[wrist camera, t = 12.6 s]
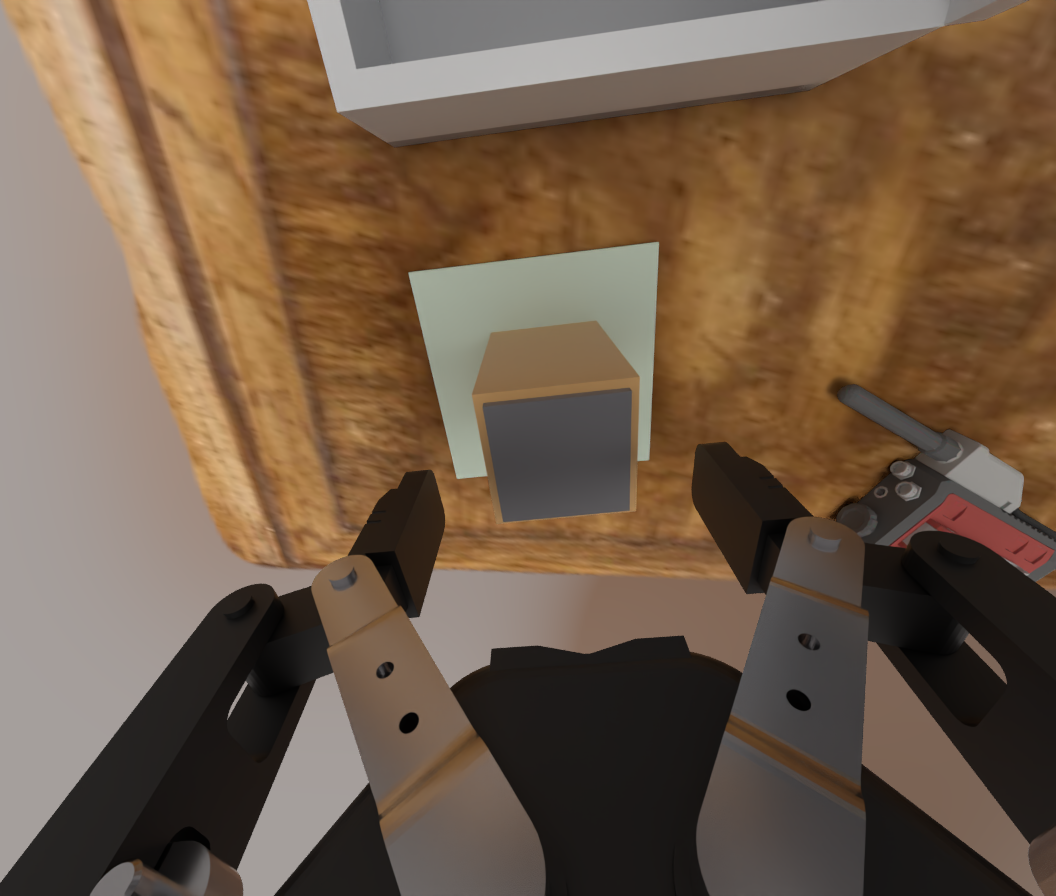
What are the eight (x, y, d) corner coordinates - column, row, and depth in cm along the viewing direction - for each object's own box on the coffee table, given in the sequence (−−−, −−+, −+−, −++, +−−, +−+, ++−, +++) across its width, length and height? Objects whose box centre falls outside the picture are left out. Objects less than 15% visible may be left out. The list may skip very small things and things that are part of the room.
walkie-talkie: (1066, 502, 25) (841, 363, 21) (1164, 551, 21) (914, 394, 17) (941, 589, 29) (728, 487, 24) (1006, 644, 25) (767, 536, 21)
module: (596, 320, 19) (642, 380, 11) (598, 416, 21) (638, 516, 14) (490, 332, 19) (470, 398, 12) (505, 426, 21) (496, 529, 14)
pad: (656, 241, 17) (659, 242, 17) (647, 456, 23) (649, 460, 22) (410, 271, 18) (408, 272, 18) (458, 475, 23) (457, 478, 23)
